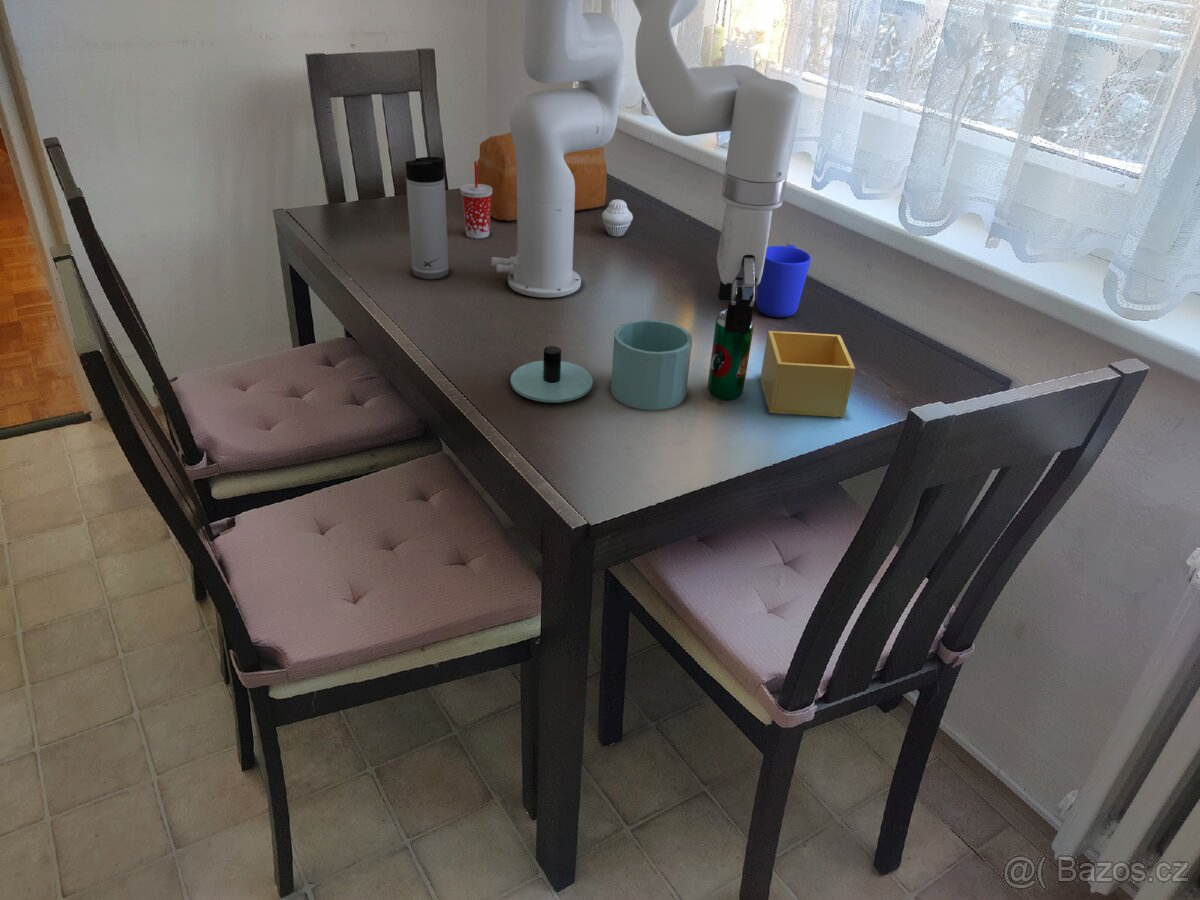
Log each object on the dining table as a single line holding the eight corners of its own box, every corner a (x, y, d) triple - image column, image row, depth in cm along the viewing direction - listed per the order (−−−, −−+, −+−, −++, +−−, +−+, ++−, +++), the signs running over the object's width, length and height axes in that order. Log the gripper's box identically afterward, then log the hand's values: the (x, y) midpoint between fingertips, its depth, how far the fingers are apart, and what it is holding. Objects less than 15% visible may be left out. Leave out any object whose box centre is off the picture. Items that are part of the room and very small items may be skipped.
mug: (807, 298, 155) (817, 243, 150) (796, 325, 146) (807, 267, 140) (760, 290, 157) (769, 235, 152) (747, 316, 148) (755, 258, 142)
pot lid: (505, 403, 120) (505, 366, 117) (515, 364, 129) (515, 329, 126) (590, 408, 120) (592, 371, 117) (593, 369, 129) (595, 334, 126)
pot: (610, 407, 120) (613, 351, 116) (611, 371, 129) (615, 317, 124) (687, 412, 120) (693, 355, 116) (683, 375, 129) (689, 321, 124)
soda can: (741, 405, 123) (753, 325, 116) (704, 399, 123) (715, 320, 117) (744, 387, 127) (756, 309, 120) (708, 382, 127) (718, 305, 121)
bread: (611, 208, 191) (615, 132, 183) (501, 225, 179) (501, 144, 170) (578, 190, 201) (580, 117, 192) (472, 205, 189) (469, 128, 180)
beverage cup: (497, 238, 173) (496, 165, 165) (466, 241, 171) (463, 167, 163) (488, 227, 177) (486, 156, 170) (458, 230, 175) (455, 158, 168)
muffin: (597, 236, 176) (599, 201, 172) (604, 227, 181) (606, 192, 178) (628, 240, 175) (630, 205, 171) (634, 230, 180) (636, 196, 176)
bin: (769, 413, 121) (777, 363, 117) (760, 377, 130) (768, 330, 126) (844, 417, 121) (855, 368, 117) (830, 381, 130) (840, 334, 126)
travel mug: (434, 283, 153) (427, 164, 142) (405, 273, 156) (396, 157, 145) (457, 272, 157) (453, 157, 146) (429, 263, 160) (422, 149, 149)
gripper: (717, 165, 117) (700, 287, 126) (729, 209, 102) (709, 343, 112) (774, 169, 117) (753, 291, 126) (794, 214, 102) (769, 347, 112)
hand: (733, 315), depth 119 cm, fingers open, 9 cm apart
